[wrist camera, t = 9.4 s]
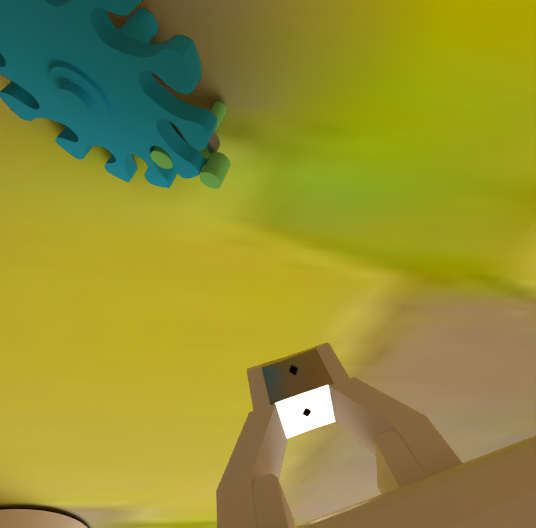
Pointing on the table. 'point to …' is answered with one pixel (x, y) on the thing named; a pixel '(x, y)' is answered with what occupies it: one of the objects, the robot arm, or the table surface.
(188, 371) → the table surface
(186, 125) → the gear
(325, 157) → the table surface
